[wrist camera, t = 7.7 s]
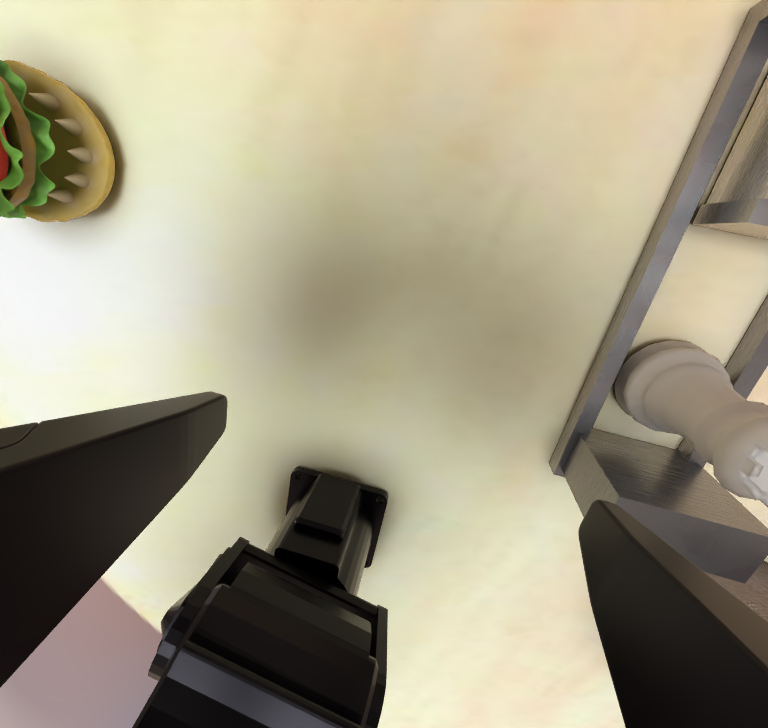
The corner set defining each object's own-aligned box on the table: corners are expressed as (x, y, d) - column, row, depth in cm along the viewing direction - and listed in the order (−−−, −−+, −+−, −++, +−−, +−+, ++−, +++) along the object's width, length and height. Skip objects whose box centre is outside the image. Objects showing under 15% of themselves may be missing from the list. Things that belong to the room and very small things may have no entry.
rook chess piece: (626, 431, 20) (731, 550, 12) (597, 360, 19) (692, 443, 11) (721, 400, 18) (903, 512, 11) (695, 322, 17) (875, 388, 10)
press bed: (667, 495, 21) (747, 592, 15) (549, 463, 21) (583, 546, 16) (946, 38, 13) (1316, -108, 7) (750, 8, 14) (957, -147, 8)
